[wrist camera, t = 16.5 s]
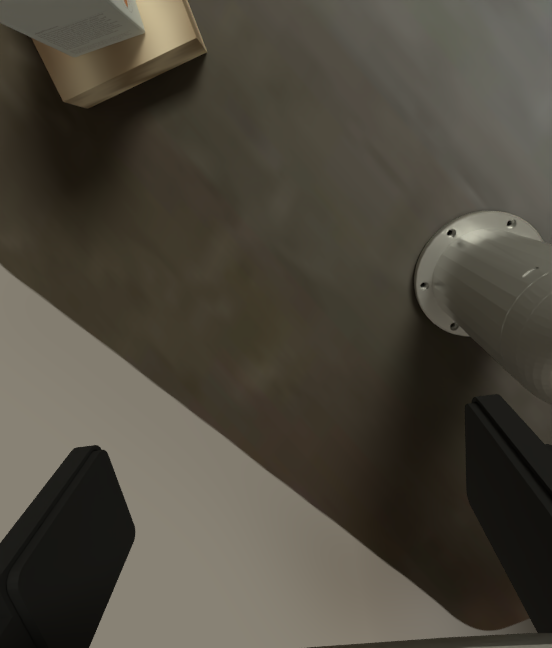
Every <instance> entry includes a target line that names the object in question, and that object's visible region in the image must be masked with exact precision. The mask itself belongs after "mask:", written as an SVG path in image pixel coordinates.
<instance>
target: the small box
mask: <svg viewBox="0 0 552 648" xmlns="http://www.w3.org/2000/svg"><path fill="white" fill-rule="evenodd" d="M0 23H1V24H4V25H6V26H8V27H10V28H12V29H14V30H16V31H18V32H20V33H23V34H25V35H27V36H29V37H31V38H33V39H35V40H37V41H39V42H41V43H44V44H46V45H48V46H50V47H52V48H54V49H57V50H59V51H61V52H63V53H65V54H67V55H69V56H71V57H78V56H81V55H83V54H86V53H89V52H92V51H95V50H98V49H100V48H103V47H106V46H109V45H112V44H115V43H118V42H121V41H123V40H126V39H129V38H132V37H135V36H138V35H141V34H144V33H145V29H144V25H143V22H142V19H141V16H140V13H139V10H138V7H137V4H136V0H0Z"/></svg>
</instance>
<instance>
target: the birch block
mask: <svg viewBox="0 0 552 648" xmlns="http://www.w3.org/2000/svg"><path fill="white" fill-rule="evenodd" d="M136 4H137V7H138V10H139V13H140V16H141V19H142V22H143V25H144V29H145V33H144V34H141V35H138V36H135V37H132V38H129V39H126V40H123V41H121V42H118V43H115V44H112V45H109V46H106V47H103V48H100V49H98V50H95V51H92V52H89V53H86V54H83V55H81V56H78V57H71V56H69V55H67V54H65V53H63V52H61V51H59V50H57V49H54V48H52V47H50V46H48V45H46V44H44V43H41V42H39V41H37V40H35V39H33V38H32V40H33V42H34V44H35V46H36V48H37V50H38V52H39V54H40V56H41V58H42V60H43V62H44V64H45V66H46V68H47V70H48V72H49V74H50V76H51V78H52V80H53V82H54V84H55V86H56V88H57V90H58V92H59V94H60V96H61V98H62V100H63V102H65V103H69V104H72V105H76V106H79V107H83V108H87V109H88V108H91V107H93V106H95V105H97V104H99V103H101V102H103V101H105V100H107V99H110V98H112V97H114V96H116V95H118V94H120V93H122V92H124V91H126V90H129V89H131V88H133V87H135V86H137V85H139V84H141V83H143V82H145V81H147V80H150V79H152V78H154V77H156V76H158V75H160V74H162V73H164V72H166V71H169V70H171V69H173V68H175V67H177V66H179V65H181V64H183V63H185V62H188V61H190V60H192V59H194V58H196V57H198V56H200V55H202V54H204V53H206V52H207V50H206V48H205V45H204V42H203V40H202V37H201V35H200V32H199V29H198V27H197V24H196V22H195V19H194V16H193V14H192V11H191V8H190V6H189V3H188V1H187V0H136Z"/></svg>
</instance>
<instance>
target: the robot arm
mask: <svg viewBox="0 0 552 648" xmlns="http://www.w3.org/2000/svg"><path fill="white" fill-rule="evenodd" d="M508 221H509V222H510V223H509V224H508V225H507V222H508ZM449 230H450V231H451V233H450V234H449V235H447V232H448V231H449ZM423 282H424V285H423V286H420V285H421V284H422V283H423ZM414 290H415V294H416V299H417V301H418V303H419V305H420V308H421V309H422V311H423V312H424V313H425V315H426V316H427V317H428V318H429V319H430V320H431V321H432V322H433V323H434V324H435V325H437V326H438V327H439V328H441V329H442V330H444V331H447V332H449V333H451V334H455V335H460V336H467V337H471V338H472V339H473V340H474V341H475V342H477V343H478V344H479V345H480V346H481V347H482V348H483V349H484V350H485V351H486V352H487V353H488V354H489V355H490V356H491V357H492V358H493V359H494V360H495V361H497V362H498V363H499V364H500V365H501V366H502V367H503V368H504V369H505V370H506V371H507V372H508V373H509V374H510V375H511V376H512V377H513V378H514V379H516V380H517V381H518V382H519V383H520V384H521V385H522V386H523V387H525V388H526V389H527V390H528V391H529V392H531V393H532V394H533V395H535V396H536V397H538V398H539V399H541V400H543V401H545V402H547V403H549V404H552V245H551V244H548V243H545V242H543V240H542V238H541V237H540V235H539V233H538V232H537V231H536V230H535V229H534V228H533V227H532V226H531V225H530V224H529V223H528V222H526V221H525V220H523V219H521V218H520V217H518V216H515V215H512V214H509V213H505V212H500V211H478V212H472V213H469V214H466V215H463V216H460V217H458V218H456V219H454V220H453V221H451V222H449V223H447V224H446V225H445V226H443V227H442V228H441V229H440V230H438V231H437V232H436V233H435V234H434V235H433V237H432V238H431V239H430V240H429V241H428V242H427V244H426V245H425V247H424V249H423V250H422V252H421V254H420V256H419V259H418V262H417V264H416V269H415V274H414ZM452 323H453V325H451V324H452ZM450 325H451V326H450ZM465 439H466V488H467V496H468V500H469V503H470V505H471V507H472V509H473V511H474V513H475V515H476V517H477V519H478V521H479V522H480V524H481V526H482V528H483V530H484V532H485V534H486V536H487V538H488V539H489V541H490V543H491V545H492V547H493V549H494V551H495V553H496V555H497V557H498V558H499V560H500V562H501V564H502V566H503V568H504V570H505V572H506V574H507V575H508V577H509V579H510V581H511V583H512V585H513V587H514V589H515V591H516V592H517V594H518V596H519V598H520V600H521V602H522V604H523V606H524V608H525V610H526V611H527V613H528V615H529V617H530V619H531V621H532V623H533V625H534V627H535V628H536V630H537V632H538V633H526V634H507V635H488V636H470V637H450V638H436V639H421V640H407V641H393V642H379V643H365V644H351V645H336V646H322V647H310V648H552V445H549V444H544V443H543V442H542V441H541V440H540V439H539V438H538V437H537V435H536V434H535V433H534V432H533V431H532V430H531V429H530V428H529V427H528V426H527V424H526V423H525V422H524V421H523V420H522V419H521V418H520V417H519V416H518V415H517V414H516V412H515V411H514V410H513V409H512V408H511V407H510V406H509V405H508V404H507V403H506V401H505V400H504V399H503V398H502V397H501V396H500V395H498V394H495V395H487V396H479V397H474V398H473V399H472V403H471V404H466V406H465ZM134 538H135V526H134V523H133V521H132V518H131V515H130V513H129V510H128V507H127V504H126V502H125V499H124V496H123V493H122V491H121V488H120V485H119V483H118V480H117V477H116V475H115V472H114V469H113V466H112V464H111V461H110V458H109V456H108V453H107V452H106V451H105V450H101V448H100V447H99V446H97V445H94V446H86V447H78V448H74V449H73V450H72V451H71V452H70V454H69V455H68V456H67V458H66V459H65V460H64V461H63V463H62V464H61V465H60V467H59V468H58V469H57V470H56V472H55V473H54V475H53V476H52V477H51V478H50V480H49V481H48V482H47V483H46V485H45V486H44V487H43V489H42V490H41V491H40V492H39V494H38V495H37V496H36V498H35V499H34V500H33V502H32V503H31V504H30V505H29V507H28V508H27V509H26V511H25V512H24V513H23V514H22V516H21V517H20V518H19V520H18V521H17V522H16V523H15V525H14V526H13V527H12V529H11V530H10V531H9V533H8V534H7V535H6V536H5V538H4V539H3V540H2V542H1V543H0V648H89V646H90V644H91V642H92V639H93V637H94V634H95V632H96V630H97V627H98V625H99V622H100V620H101V618H102V615H103V613H104V611H105V608H106V606H107V604H108V601H109V599H110V597H111V594H112V592H113V589H114V587H115V585H116V582H117V580H118V578H119V575H120V573H121V570H122V568H123V566H124V563H125V561H126V559H127V556H128V554H129V551H130V549H131V547H132V544H133V542H134Z"/></svg>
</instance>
